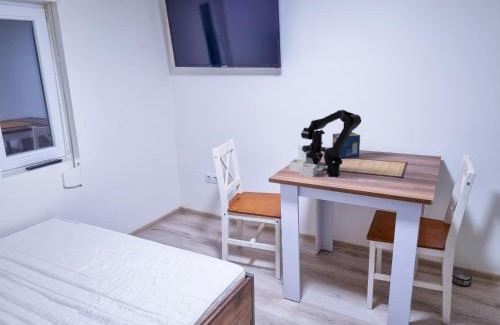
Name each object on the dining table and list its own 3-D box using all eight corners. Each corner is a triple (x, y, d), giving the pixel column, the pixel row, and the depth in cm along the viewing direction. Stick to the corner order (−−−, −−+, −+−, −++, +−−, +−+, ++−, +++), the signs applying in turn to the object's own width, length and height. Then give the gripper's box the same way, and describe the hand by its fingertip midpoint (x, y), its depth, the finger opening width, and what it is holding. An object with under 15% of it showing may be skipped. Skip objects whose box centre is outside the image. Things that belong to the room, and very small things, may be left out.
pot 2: (317, 174, 217) (317, 164, 215) (312, 178, 210) (312, 168, 208) (304, 172, 220) (304, 163, 219) (299, 176, 213) (299, 166, 212)
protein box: (331, 155, 258) (332, 133, 254) (351, 153, 262) (352, 132, 258) (339, 159, 248) (340, 136, 244) (359, 157, 253) (360, 134, 249)
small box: (313, 166, 234) (314, 145, 231) (305, 167, 231) (305, 147, 228) (305, 163, 241) (306, 143, 238) (297, 164, 238) (297, 144, 235)
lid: (311, 166, 229) (312, 158, 228) (325, 167, 225) (325, 159, 224) (307, 169, 222) (307, 161, 221) (320, 171, 218) (321, 163, 217)
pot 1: (306, 169, 227) (306, 160, 225) (302, 173, 220) (302, 163, 218) (294, 168, 230) (294, 158, 229) (289, 171, 224) (289, 162, 222)
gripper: (309, 137, 231) (308, 161, 235) (298, 143, 215) (298, 168, 219) (326, 138, 225) (326, 163, 230) (316, 144, 210) (316, 171, 214)
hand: (316, 166), depth 223 cm, fingers closed on lid, 3 cm apart
